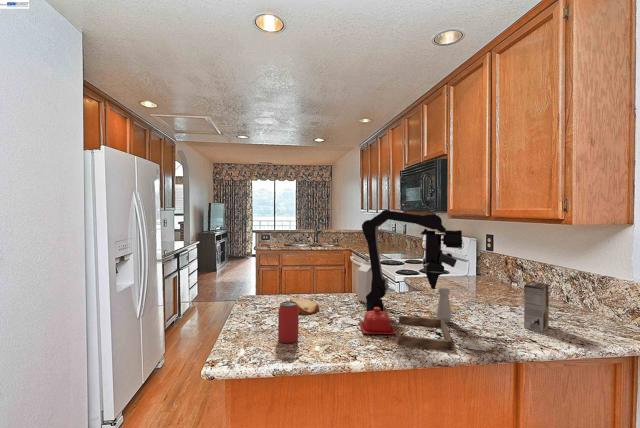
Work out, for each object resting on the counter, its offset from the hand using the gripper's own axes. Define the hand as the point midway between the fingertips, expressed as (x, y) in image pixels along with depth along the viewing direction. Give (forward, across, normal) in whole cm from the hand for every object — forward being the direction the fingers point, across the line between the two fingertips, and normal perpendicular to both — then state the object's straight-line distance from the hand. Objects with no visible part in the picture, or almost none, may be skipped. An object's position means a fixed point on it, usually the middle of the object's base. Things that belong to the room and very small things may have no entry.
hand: (431, 286), depth 123 cm
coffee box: (+13, +5, -38) cm, 41 cm away
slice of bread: (+16, +4, +54) cm, 56 cm away
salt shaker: (+14, +2, -5) cm, 15 cm away
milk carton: (+15, +23, +27) cm, 38 cm away
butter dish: (+15, -15, +20) cm, 29 cm away
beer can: (+15, -32, +47) cm, 59 cm away
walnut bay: (+14, -15, +4) cm, 21 cm away
